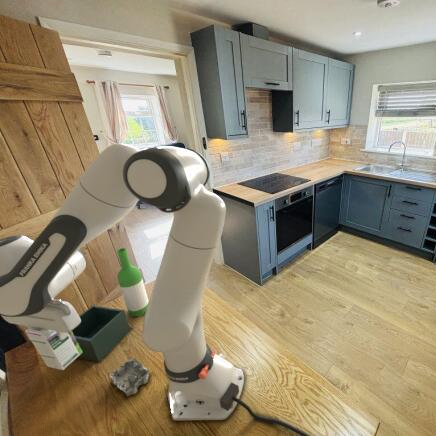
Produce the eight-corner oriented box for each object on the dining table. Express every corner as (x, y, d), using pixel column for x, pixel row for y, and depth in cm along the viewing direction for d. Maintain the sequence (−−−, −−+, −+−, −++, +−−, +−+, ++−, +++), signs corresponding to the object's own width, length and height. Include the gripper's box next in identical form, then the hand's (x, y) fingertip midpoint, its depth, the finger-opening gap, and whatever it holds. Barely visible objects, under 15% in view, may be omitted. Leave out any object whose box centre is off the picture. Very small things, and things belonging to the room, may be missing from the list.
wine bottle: (139, 302, 105) (121, 243, 93) (154, 305, 104) (138, 246, 92) (124, 315, 98) (103, 253, 86) (140, 319, 97) (121, 256, 85)
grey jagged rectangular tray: (109, 381, 74) (105, 373, 72) (134, 362, 80) (131, 353, 79) (128, 400, 69) (124, 392, 68) (153, 378, 75) (150, 369, 74)
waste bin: (130, 329, 92) (124, 310, 88) (99, 362, 80) (90, 341, 76) (100, 324, 94) (93, 305, 90) (65, 355, 82) (54, 334, 78)
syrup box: (63, 371, 66) (41, 333, 60) (46, 366, 67) (23, 329, 61) (83, 352, 71) (65, 316, 66) (67, 349, 72) (48, 313, 67)
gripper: (77, 292, 61) (94, 331, 67) (13, 284, 64) (35, 321, 70) (50, 311, 55) (72, 351, 61) (-18, 300, 59) (8, 340, 64)
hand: (52, 335), depth 65 cm, fingers closed on syrup box, 6 cm apart
